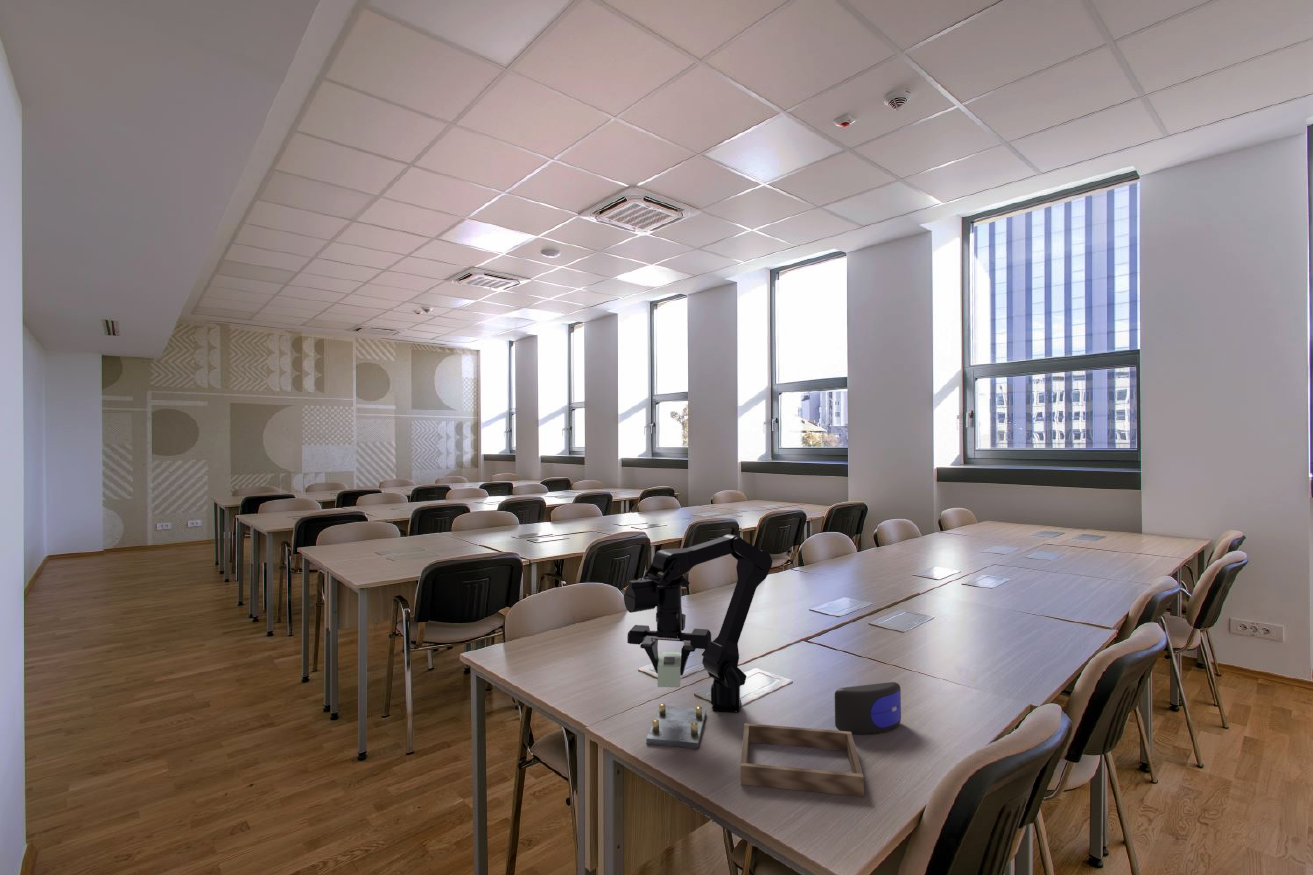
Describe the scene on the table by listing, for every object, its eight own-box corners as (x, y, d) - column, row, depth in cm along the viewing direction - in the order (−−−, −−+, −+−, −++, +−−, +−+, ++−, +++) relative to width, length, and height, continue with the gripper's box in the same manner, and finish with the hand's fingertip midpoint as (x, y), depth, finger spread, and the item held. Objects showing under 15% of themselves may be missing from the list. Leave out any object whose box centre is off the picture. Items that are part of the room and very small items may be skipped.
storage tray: (851, 748, 123) (851, 731, 123) (863, 796, 106) (863, 776, 106) (744, 739, 127) (744, 723, 127) (740, 784, 110) (740, 765, 110)
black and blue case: (844, 739, 127) (843, 695, 127) (833, 729, 131) (832, 686, 131) (910, 730, 130) (910, 687, 130) (897, 720, 135) (897, 679, 135)
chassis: (706, 714, 139) (706, 700, 139) (697, 748, 123) (697, 733, 123) (660, 710, 141) (660, 697, 141) (646, 743, 125) (646, 728, 125)
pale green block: (680, 671, 140) (680, 650, 140) (680, 687, 131) (679, 664, 131) (659, 671, 140) (659, 649, 140) (657, 686, 131) (657, 664, 131)
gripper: (714, 598, 141) (715, 664, 141) (639, 595, 146) (639, 658, 145) (707, 611, 130) (708, 682, 130) (626, 607, 135) (627, 675, 135)
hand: (669, 673), depth 135 cm, fingers closed on pale green block, 5 cm apart
